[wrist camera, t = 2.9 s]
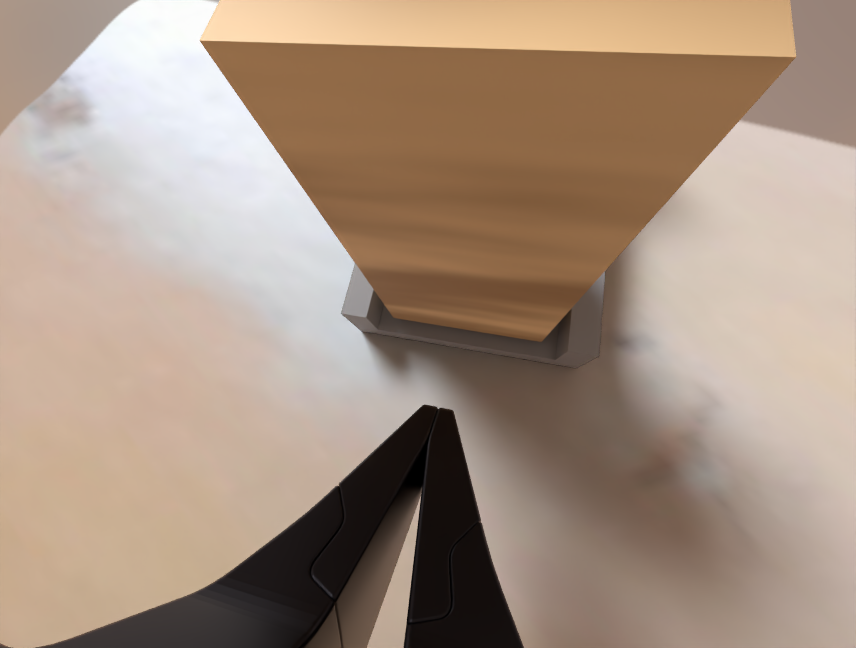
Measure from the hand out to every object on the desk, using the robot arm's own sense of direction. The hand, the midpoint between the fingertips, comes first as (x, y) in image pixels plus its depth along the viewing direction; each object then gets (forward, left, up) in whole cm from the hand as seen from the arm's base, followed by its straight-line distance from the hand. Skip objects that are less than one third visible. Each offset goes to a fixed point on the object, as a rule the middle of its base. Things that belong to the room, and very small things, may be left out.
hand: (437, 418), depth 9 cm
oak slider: (+4, -4, -6) cm, 8 cm away
